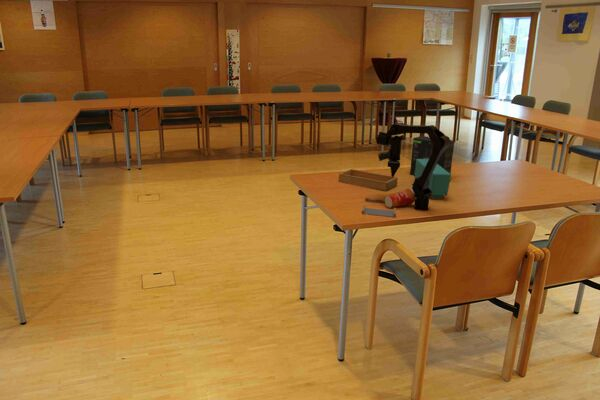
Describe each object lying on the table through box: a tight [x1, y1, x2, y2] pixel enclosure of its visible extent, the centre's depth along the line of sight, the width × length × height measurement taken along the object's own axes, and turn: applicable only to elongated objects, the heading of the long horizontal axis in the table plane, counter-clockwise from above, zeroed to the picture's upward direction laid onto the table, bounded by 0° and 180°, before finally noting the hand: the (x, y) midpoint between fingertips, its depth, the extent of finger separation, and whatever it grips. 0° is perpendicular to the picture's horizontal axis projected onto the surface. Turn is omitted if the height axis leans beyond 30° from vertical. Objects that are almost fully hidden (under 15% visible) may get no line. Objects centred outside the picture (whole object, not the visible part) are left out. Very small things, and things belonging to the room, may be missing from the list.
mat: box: [361, 204, 397, 218], centre depth 255 cm, size 16×9×2 cm, turn 79°
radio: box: [414, 159, 452, 200], centre depth 292 cm, size 34×10×15 cm, turn 4°
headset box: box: [409, 135, 455, 177], centre depth 321 cm, size 22×12×26 cm, turn 49°
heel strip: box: [364, 197, 385, 204], centre depth 271 cm, size 16×2×2 cm, turn 79°
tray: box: [338, 168, 398, 192], centre depth 304 cm, size 31×15×6 cm, turn 56°
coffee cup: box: [384, 188, 415, 209], centre depth 266 cm, size 8×8×15 cm
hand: (392, 176), depth 272 cm, fingers closed
